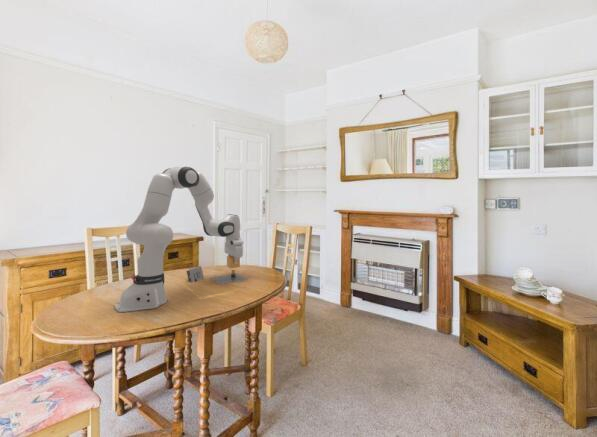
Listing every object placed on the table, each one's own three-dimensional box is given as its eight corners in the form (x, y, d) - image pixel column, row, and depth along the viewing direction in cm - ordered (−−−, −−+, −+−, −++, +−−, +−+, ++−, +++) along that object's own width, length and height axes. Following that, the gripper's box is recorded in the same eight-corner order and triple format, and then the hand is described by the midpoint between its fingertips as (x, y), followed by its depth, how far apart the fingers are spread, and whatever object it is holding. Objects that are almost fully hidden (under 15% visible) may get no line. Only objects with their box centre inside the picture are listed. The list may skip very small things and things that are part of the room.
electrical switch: (192, 285, 183) (191, 269, 183) (186, 284, 186) (185, 269, 186) (204, 281, 192) (203, 266, 191) (198, 280, 194) (197, 265, 194)
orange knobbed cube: (230, 268, 192) (230, 255, 192) (226, 266, 197) (226, 253, 197) (239, 267, 196) (239, 254, 195) (235, 265, 201) (235, 252, 200)
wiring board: (219, 286, 181) (219, 277, 180) (210, 280, 194) (209, 271, 193) (248, 281, 191) (248, 273, 190) (237, 276, 204) (237, 267, 203)
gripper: (221, 238, 202) (222, 260, 203) (234, 243, 185) (235, 266, 186) (231, 237, 205) (231, 258, 207) (244, 242, 189) (244, 264, 190)
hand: (233, 262), depth 196 cm, fingers closed on orange knobbed cube, 6 cm apart
